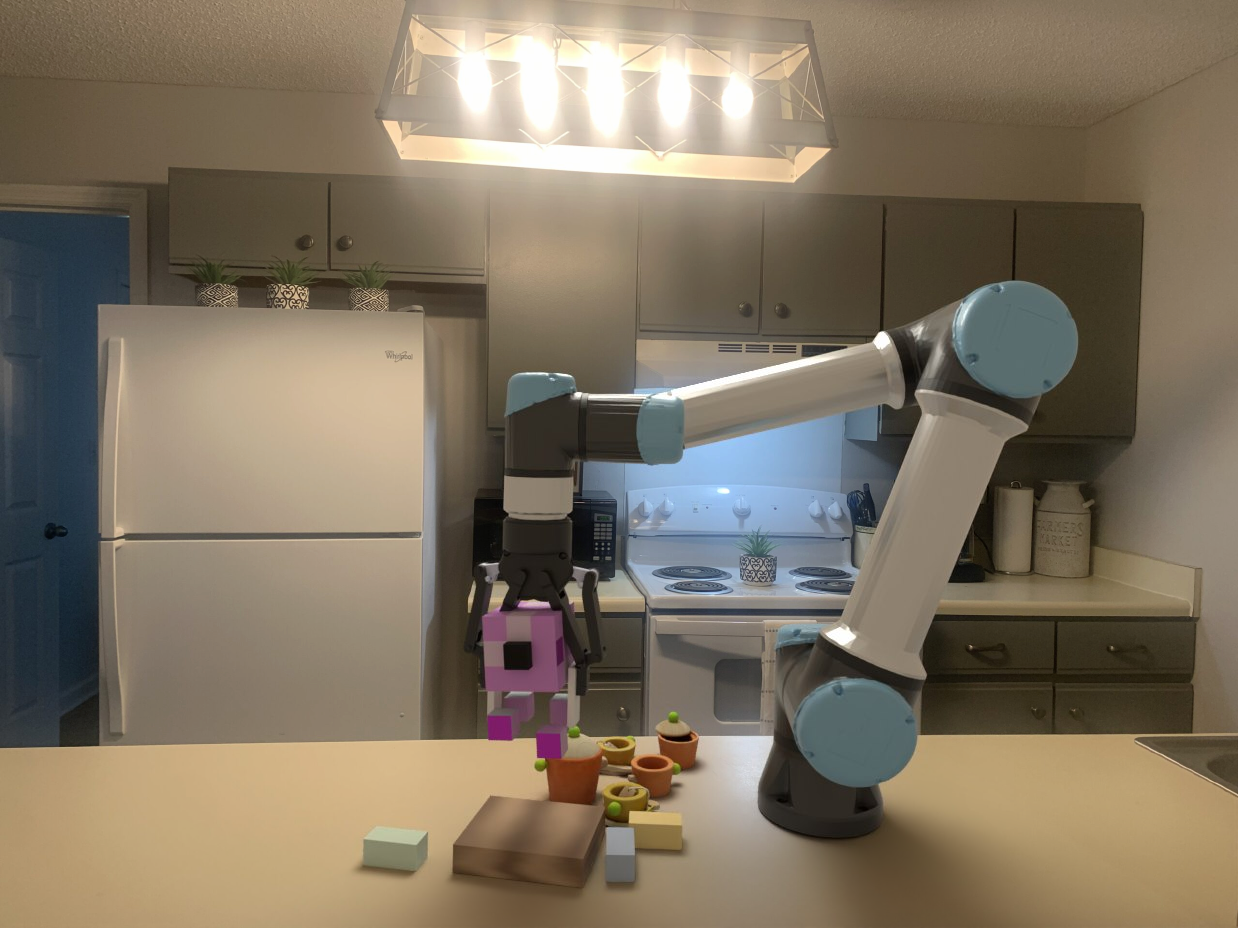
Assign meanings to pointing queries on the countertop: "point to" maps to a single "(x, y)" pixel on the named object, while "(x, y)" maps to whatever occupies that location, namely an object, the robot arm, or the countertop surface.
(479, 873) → the pedestal
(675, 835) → the brick ochre
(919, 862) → the countertop surface
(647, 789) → the toy tea set
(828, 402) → the robot arm
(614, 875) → the brick slate
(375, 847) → the brick sage
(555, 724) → the toy
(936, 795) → the countertop surface
